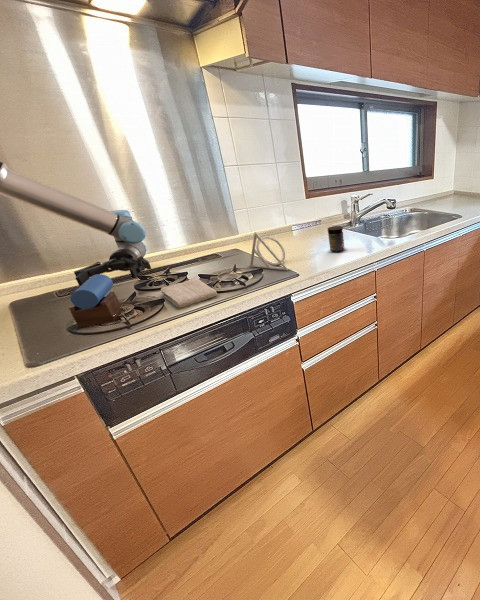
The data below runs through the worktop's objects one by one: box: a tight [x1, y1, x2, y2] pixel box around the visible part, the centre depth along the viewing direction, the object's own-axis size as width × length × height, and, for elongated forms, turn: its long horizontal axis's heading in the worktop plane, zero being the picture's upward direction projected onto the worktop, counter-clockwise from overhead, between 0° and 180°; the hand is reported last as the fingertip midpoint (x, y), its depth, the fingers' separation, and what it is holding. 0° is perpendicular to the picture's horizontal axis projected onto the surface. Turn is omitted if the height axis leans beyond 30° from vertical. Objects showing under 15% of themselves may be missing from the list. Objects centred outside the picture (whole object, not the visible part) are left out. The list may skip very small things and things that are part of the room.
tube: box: [69, 273, 114, 309], centre depth 93 cm, size 13×6×6 cm, turn 24°
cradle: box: [68, 290, 123, 329], centre depth 93 cm, size 8×8×6 cm
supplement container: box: [327, 225, 346, 254], centre depth 146 cm, size 7×7×10 cm
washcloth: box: [160, 278, 219, 308], centre depth 106 cm, size 12×18×3 cm, turn 51°
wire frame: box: [249, 232, 289, 271], centre depth 131 cm, size 18×13×16 cm
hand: (106, 278), depth 102 cm, fingers open, 13 cm apart
